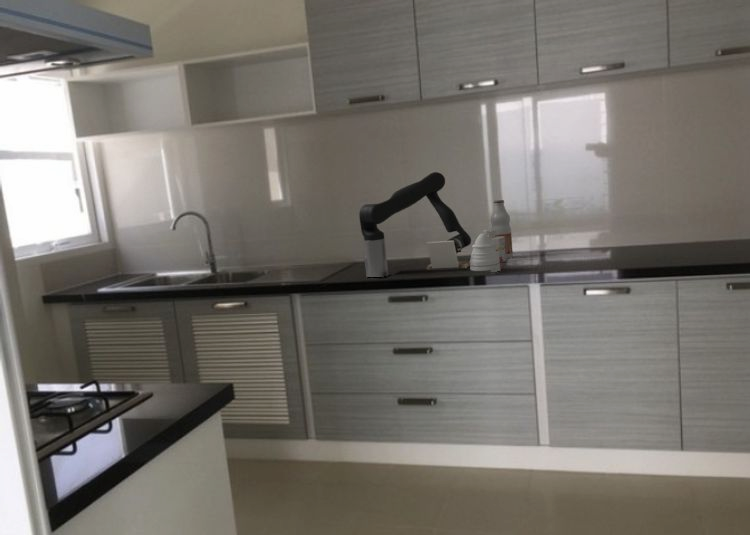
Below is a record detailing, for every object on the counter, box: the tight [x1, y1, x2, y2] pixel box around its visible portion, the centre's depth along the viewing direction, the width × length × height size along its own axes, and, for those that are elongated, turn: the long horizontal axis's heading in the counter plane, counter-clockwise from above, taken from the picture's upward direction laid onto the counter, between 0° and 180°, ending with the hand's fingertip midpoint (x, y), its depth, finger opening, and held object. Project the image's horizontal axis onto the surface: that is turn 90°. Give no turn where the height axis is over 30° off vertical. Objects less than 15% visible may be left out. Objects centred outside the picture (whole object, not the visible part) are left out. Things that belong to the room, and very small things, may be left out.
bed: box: [426, 260, 470, 271], centre depth 296 cm, size 18×11×3 cm, turn 69°
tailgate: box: [426, 240, 460, 271], centre depth 287 cm, size 12×1×15 cm, turn 69°
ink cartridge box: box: [488, 231, 507, 264], centre depth 304 cm, size 9×5×15 cm, turn 150°
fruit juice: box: [490, 199, 514, 260], centre depth 314 cm, size 9×9×28 cm
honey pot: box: [469, 229, 501, 273], centre depth 281 cm, size 13×13×18 cm
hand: (442, 252), depth 287 cm, fingers closed
